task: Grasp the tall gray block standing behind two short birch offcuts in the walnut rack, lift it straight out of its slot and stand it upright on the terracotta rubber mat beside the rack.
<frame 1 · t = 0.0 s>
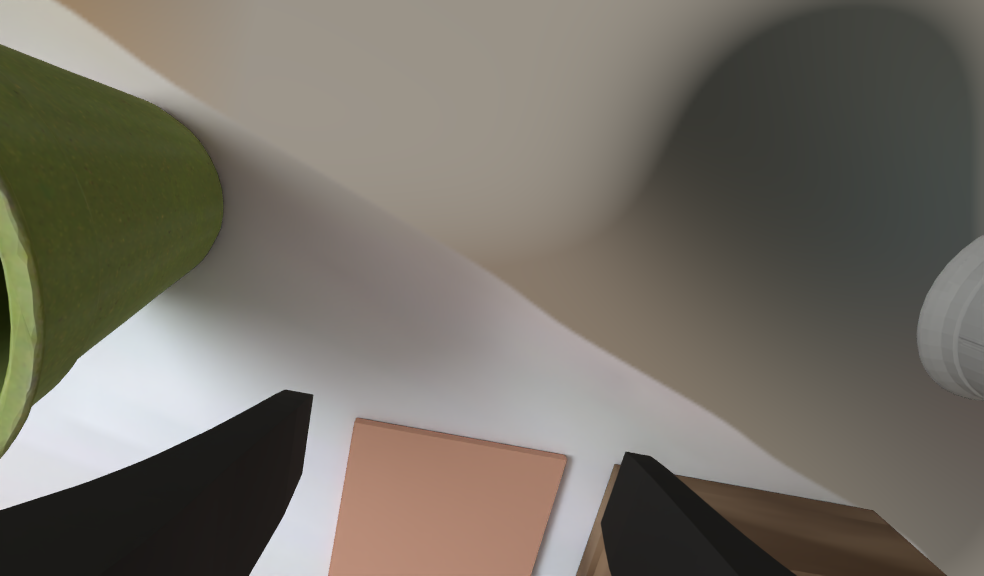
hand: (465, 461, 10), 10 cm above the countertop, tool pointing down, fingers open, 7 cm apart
plant pot: (137, 195, 19), on the countertop
terracotta mat: (434, 554, 24), on the countertop
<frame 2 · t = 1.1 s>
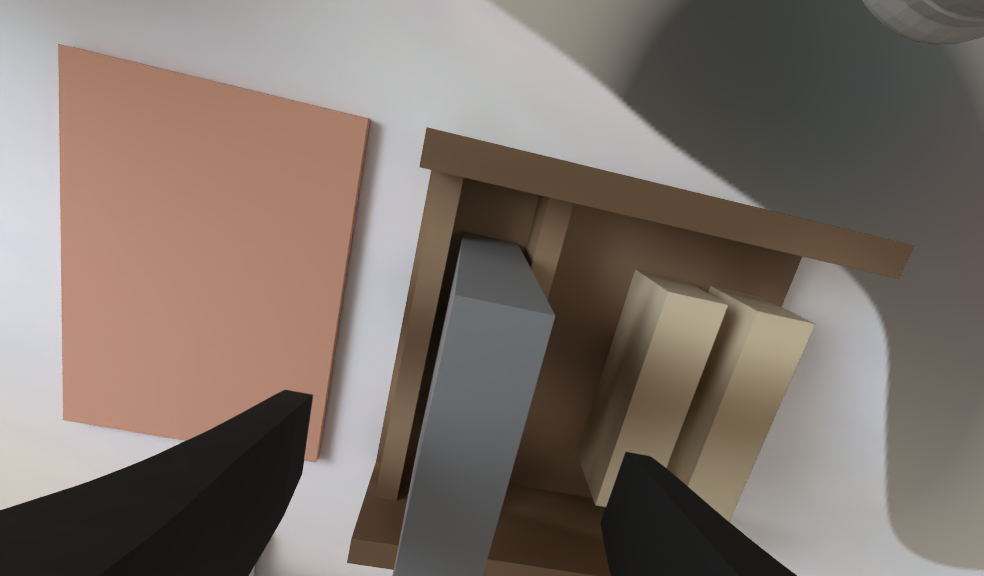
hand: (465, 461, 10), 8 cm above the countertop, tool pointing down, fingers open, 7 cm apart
birch offcut 2: (699, 385, 19), point 1 cm above the countertop, touching walnut rack
birch offcut 1: (628, 371, 18), point 1 cm above the countertop, touching walnut rack
terracotta mat: (209, 277, 18), on the countertop
gray block: (467, 338, 18), point 1 cm above the countertop, touching walnut rack
walnut rack: (574, 351, 19), on the countertop
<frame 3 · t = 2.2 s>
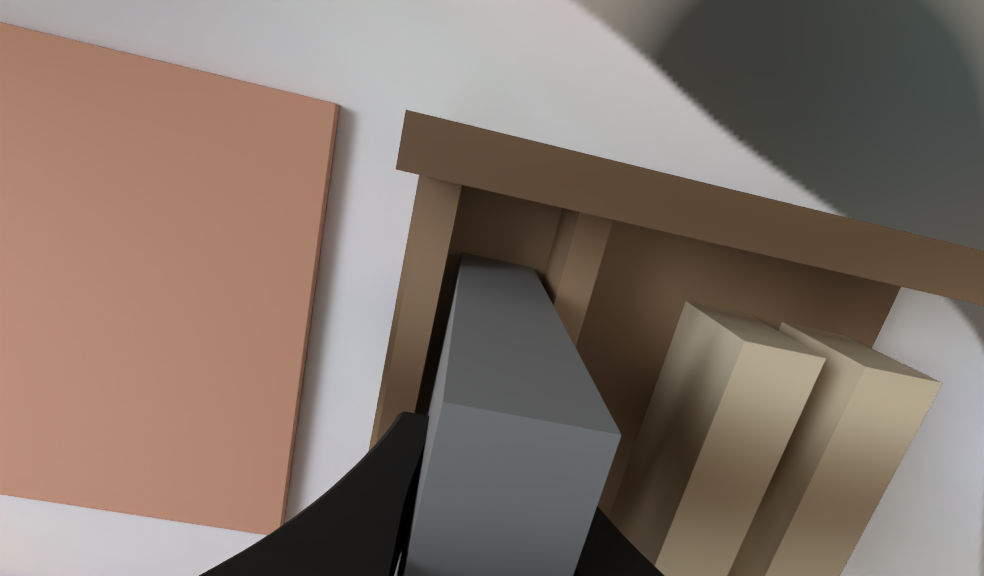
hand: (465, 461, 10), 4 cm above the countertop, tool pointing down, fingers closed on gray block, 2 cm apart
birch offcut 2: (762, 445, 15), point 1 cm above the countertop, touching walnut rack
birch offcut 1: (673, 428, 14), point 1 cm above the countertop, touching walnut rack
terracotta mat: (136, 310, 14), on the countertop
gray block: (467, 389, 14), point 1 cm above the countertop, touching gripper, walnut rack
walnut rack: (602, 400, 15), on the countertop
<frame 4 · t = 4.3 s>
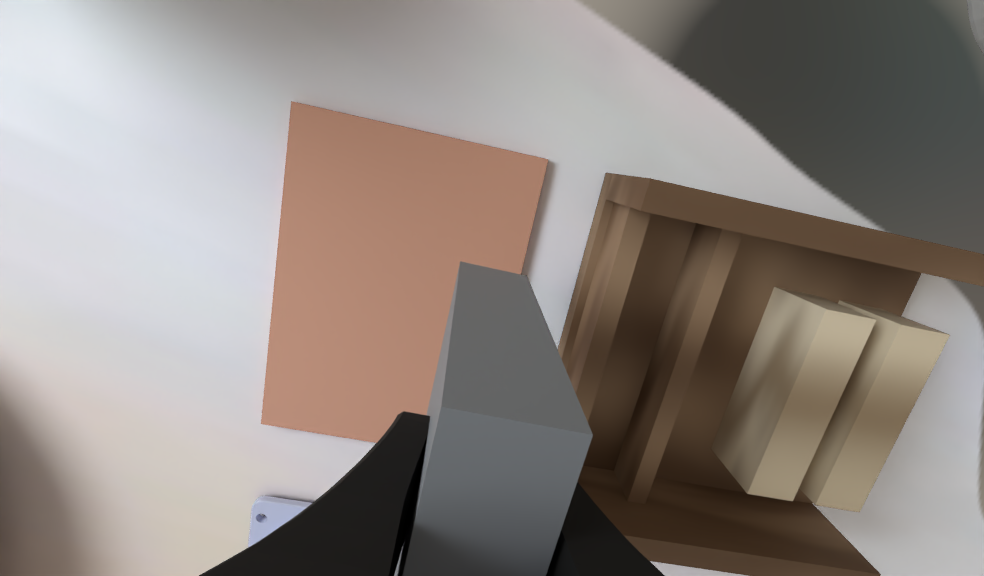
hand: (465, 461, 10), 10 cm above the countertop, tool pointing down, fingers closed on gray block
birch offcut 2: (823, 387, 21), point 1 cm above the countertop, touching walnut rack
birch offcut 1: (761, 375, 21), point 1 cm above the countertop, touching walnut rack
terracotta mat: (396, 298, 20), on the countertop
gray block: (464, 388, 15), point 6 cm above the countertop, touching gripper
walnut rack: (709, 358, 21), on the countertop
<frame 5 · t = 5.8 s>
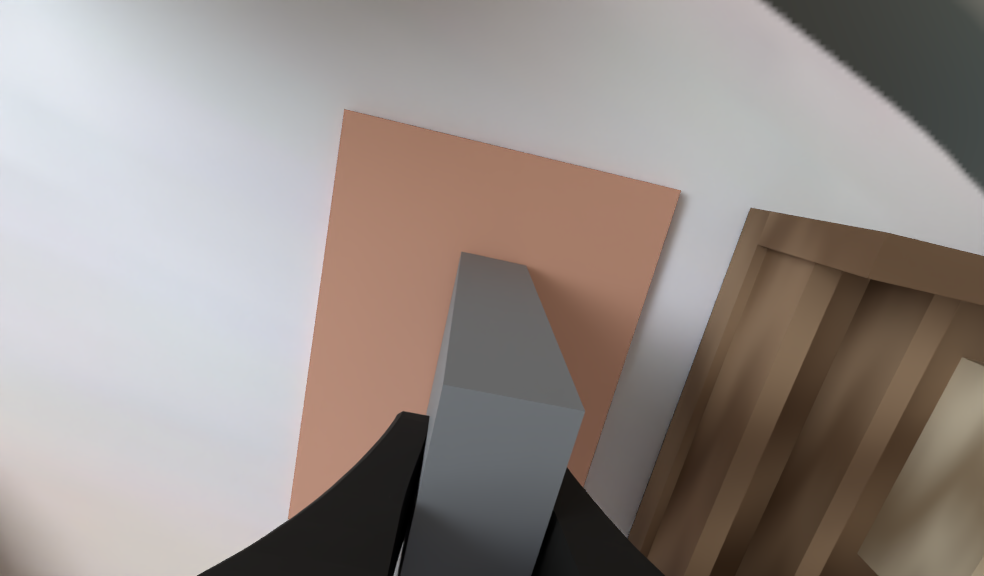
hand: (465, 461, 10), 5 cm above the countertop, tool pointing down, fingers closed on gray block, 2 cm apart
birch offcut 1: (931, 466, 16), point 1 cm above the countertop, touching walnut rack
terracotta mat: (467, 363, 16), on the countertop
gray block: (466, 375, 15), point 1 cm above the countertop, touching gripper, terracotta mat
walnut rack: (857, 439, 17), on the countertop
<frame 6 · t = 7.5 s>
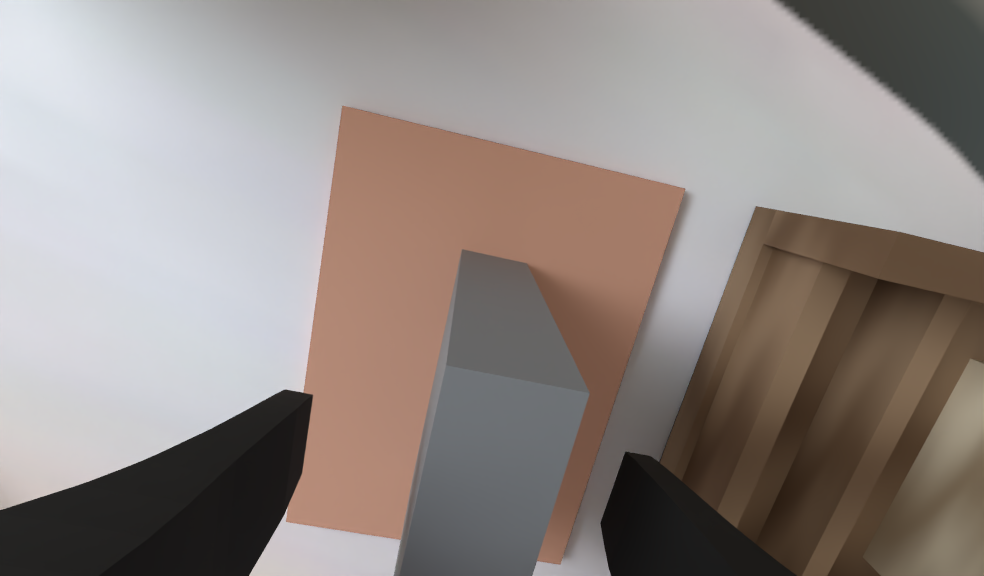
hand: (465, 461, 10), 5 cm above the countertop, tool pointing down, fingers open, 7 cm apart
birch offcut 1: (938, 469, 16), point 1 cm above the countertop, touching walnut rack
terracotta mat: (468, 364, 15), on the countertop
gray block: (466, 375, 15), resting on terracotta mat
walnut rack: (863, 441, 17), on the countertop
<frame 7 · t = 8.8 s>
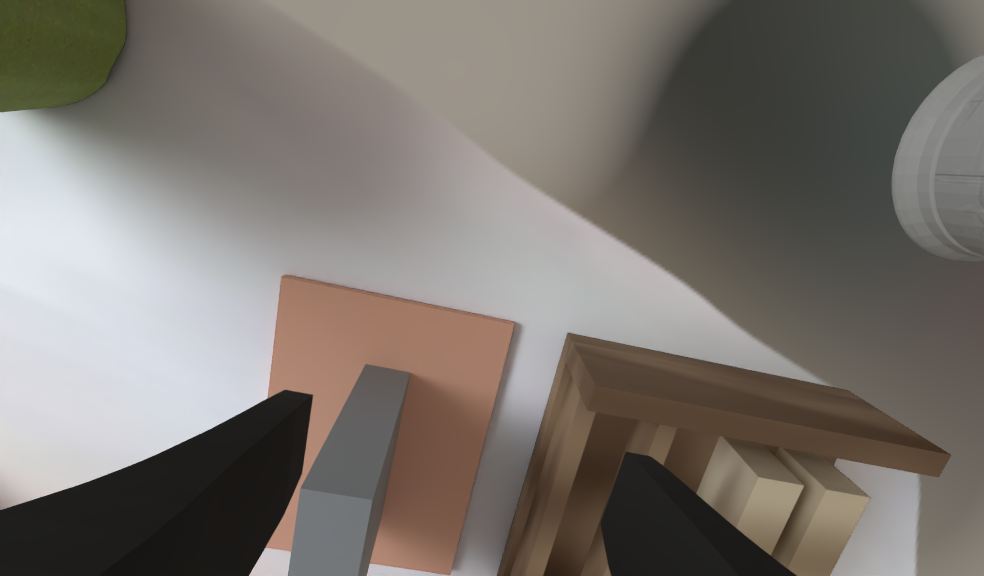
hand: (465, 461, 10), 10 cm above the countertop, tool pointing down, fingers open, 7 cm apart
plant pot: (32, 7, 17), on the countertop
birch offcut 2: (767, 518, 23), point 1 cm above the countertop, touching walnut rack
birch offcut 1: (710, 508, 23), point 1 cm above the countertop, touching walnut rack
terracotta mat: (376, 436, 22), on the countertop
gray block: (373, 445, 22), resting on terracotta mat
glass holder: (966, 105, 19), on the countertop
walnut rack: (664, 487, 23), on the countertop
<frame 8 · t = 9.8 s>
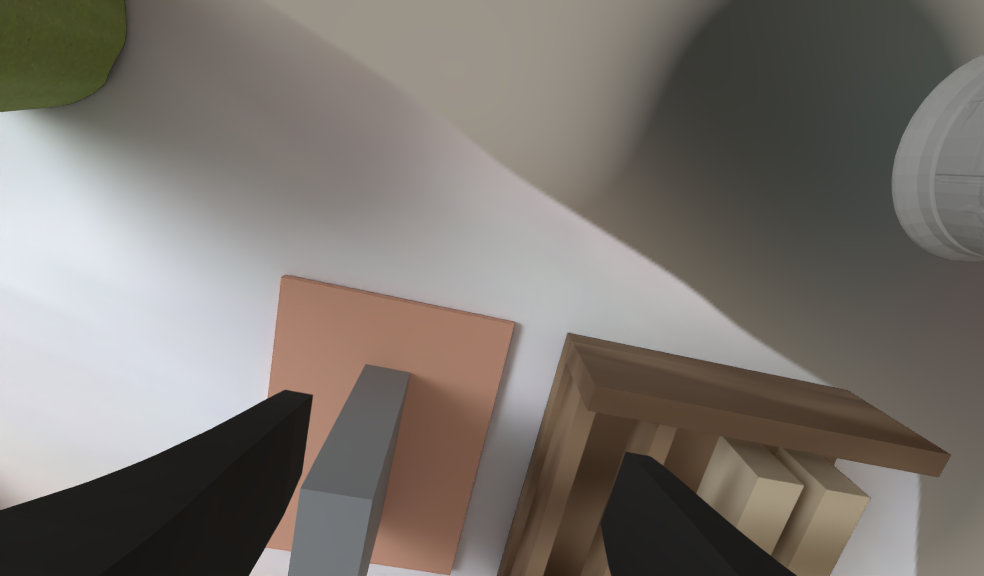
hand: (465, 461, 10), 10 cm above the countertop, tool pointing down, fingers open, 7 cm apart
plant pot: (32, 7, 17), on the countertop
birch offcut 2: (767, 518, 23), point 1 cm above the countertop, touching walnut rack
birch offcut 1: (710, 508, 23), point 1 cm above the countertop, touching walnut rack
terracotta mat: (376, 436, 22), on the countertop
gray block: (373, 445, 22), resting on terracotta mat
glass holder: (966, 105, 19), on the countertop
walnut rack: (664, 487, 23), on the countertop
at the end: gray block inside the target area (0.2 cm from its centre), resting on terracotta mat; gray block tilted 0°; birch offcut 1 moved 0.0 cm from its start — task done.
